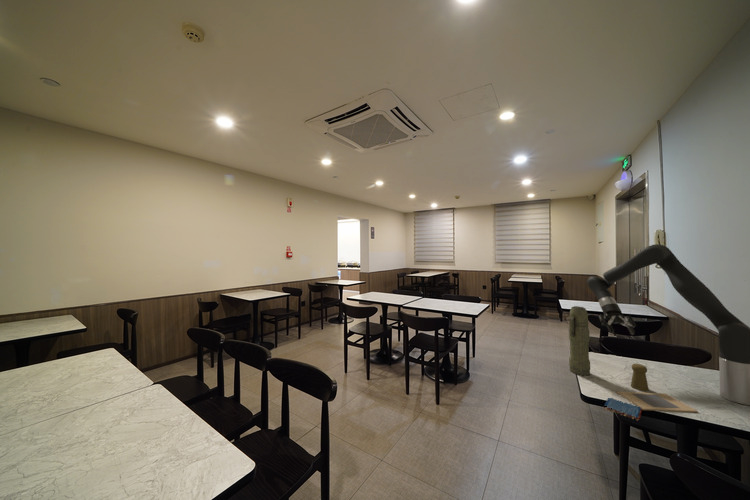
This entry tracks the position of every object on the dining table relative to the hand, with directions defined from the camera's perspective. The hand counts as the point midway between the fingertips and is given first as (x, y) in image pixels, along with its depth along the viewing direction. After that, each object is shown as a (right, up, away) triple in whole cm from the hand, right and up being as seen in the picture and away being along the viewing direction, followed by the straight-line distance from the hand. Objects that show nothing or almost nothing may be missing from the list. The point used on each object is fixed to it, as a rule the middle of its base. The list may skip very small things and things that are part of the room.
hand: (623, 333), depth 135 cm
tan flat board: (-8, -22, -23) cm, 33 cm away
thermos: (-18, -23, +5) cm, 30 cm away
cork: (-3, -22, -11) cm, 25 cm away
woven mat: (-27, -23, -28) cm, 45 cm away
